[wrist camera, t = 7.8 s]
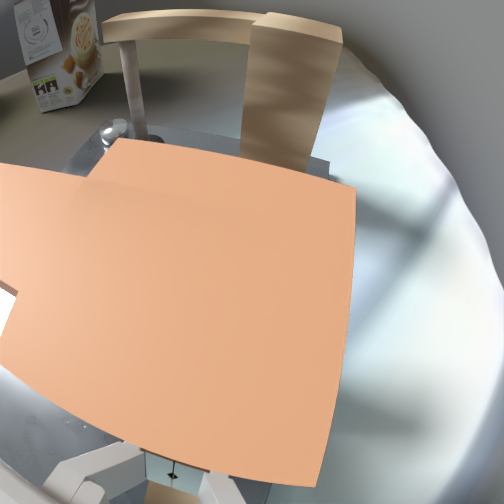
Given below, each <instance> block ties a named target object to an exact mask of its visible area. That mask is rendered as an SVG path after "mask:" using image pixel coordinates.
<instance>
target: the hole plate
mask: <svg viewBox="0 0 504 504" xmlns="http://www.w3.org/2000/svg"><path fill="white" fill-rule="evenodd" d="M147 130H148V136H149V141H150V142H157V143H163V144H170V145H176V146H182V147H188V148H194V149H199V150H205V151H210V152H215V153H220V154H225V155H230V156H235V157H239V150H240V139H235V138H230V137H224V136H219V135H214V134H208V133H202V132H196V131H189V130H183V129H176V128H169V127H161V126H153V125H147ZM118 138H126V139H135V140H136V138H135V133H134V129H133V124H132V123H127V122H126V121H125V120H123V119H114V120H111V121H105V122H104V124H103V125H102V126H101V127H100V128H99V129H98V130H97V131H96V132H95V133H94V134H93V135H92V136H91V137H90V139H89V140H88V141H87V142H86V143H85V144H84V145H83V146H82V148H81V149H80V150H79V151H78V152H77V153H76V155H75V156H74V157H73V158H72V159H71V161H70V162H69V163H68V164H67V166H66V167H65V168H64V169H63V171H62V172H61V173H65V174H71V175H76V176H82V177H87V176H88V175H89V173H90V172H91V171H92V169H93V168H94V167H95V166H96V164H97V163H98V162H99V160H100V159H101V158H102V157H103V155H104V154H105V153H106V152H107V151H108V149H109V148H110V147H111V146H112V145H113V143H114V142H115V141H116V140H117V139H118ZM329 164H330V162H329V161H325V160H322V159H318V158H315V157H311V156H310V158H309V161H308V165H307V168H306V171H305V174H309V175H313V176H316V177H320V178H323V179H327V180H328V176H329ZM14 300H15V297H14V296H12V295H10V294H9V293H7V292H6V291H4V290H3V289H1V288H0V335H1V332H2V330H3V327H4V325H5V322H6V319H7V317H8V314H9V312H10V310H11V307H12V305H13V303H14ZM116 442H122V443H124V440H122V439H120V438H118V437H116V436H113V435H111V434H109V433H107V432H105V431H103V430H101V429H99V428H97V427H95V426H93V425H91V424H89V423H87V422H86V421H84V420H82V419H80V418H78V417H76V416H75V415H73V414H71V413H69V412H68V411H66V410H64V409H63V408H61V407H59V406H58V405H56V404H54V403H53V402H51V401H50V400H48V399H47V398H45V397H44V396H42V395H41V394H39V393H38V392H36V391H35V390H33V389H32V388H30V387H29V386H28V385H26V384H25V383H23V382H22V381H21V380H19V379H18V378H17V377H15V376H14V375H13V374H11V373H10V372H9V371H8V370H6V369H5V368H4V367H3V366H1V365H0V458H1V459H2V460H3V461H4V462H5V463H6V464H8V465H9V466H10V467H11V468H12V469H14V470H15V471H16V472H17V473H18V474H20V475H21V476H22V477H24V478H25V479H26V480H27V481H29V482H30V483H31V484H33V485H34V486H36V487H37V488H38V489H40V488H41V486H42V485H43V484H44V482H45V481H46V480H47V478H48V477H49V476H50V474H51V473H52V472H53V470H54V469H55V468H56V466H57V465H58V464H59V462H61V461H65V460H68V459H71V458H74V457H77V456H80V455H83V454H86V453H89V452H92V451H95V450H98V449H100V448H103V447H106V446H108V445H111V444H114V443H116ZM228 478H230V479H233V480H234V482H235V484H236V486H237V488H238V490H239V491H240V493H241V495H242V497H243V498H244V500H245V502H246V504H265V503H266V500H267V497H268V494H269V490H270V487H271V484H272V483H270V482H263V481H257V480H252V479H246V478H241V477H236V476H232V475H229V477H228ZM148 484H149V480H148V479H146V480H145V481H143V482H142V483H140V484H138V485H136V486H135V487H133V488H131V489H129V490H127V491H126V492H124V493H122V494H120V495H118V496H116V497H114V498H112V499H110V500H108V501H109V504H143V503H144V499H145V495H146V492H147V488H148Z"/></svg>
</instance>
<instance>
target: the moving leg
mask: <svg viewBox="0 0 504 504" xmlns="http://www.w3.org/2000/svg"><path fill="white" fill-rule="evenodd" d="M355 219H356V188H353V187H350V186H347V185H343V184H340V183H337V182H333V181H330V180H327V179H323V178H320V177H316V176H313V175H309V174H305V173H302V172H298V171H294V170H290V169H286V168H282V167H278V166H274V165H270V164H266V163H262V162H257V161H253V160H249V159H244V158H239V157H235V156H230V155H225V154H220V153H215V152H210V151H205V150H199V149H194V148H188V147H182V146H176V145H170V144H163V143H157V142H150V141H142V140H135V139H126V138H118V139H117V140H116V141H115V142H114V143H113V145H112V146H111V147H110V148H109V149H108V151H107V152H106V153H105V154H104V155H103V157H102V158H101V159H100V160H99V162H98V163H97V164H96V166H95V167H94V168H93V169H92V171H91V172H90V173H89V175H88V176H87V177H82V176H76V175H71V174H65V173H60V172H54V171H48V170H42V169H36V168H30V167H23V166H17V165H10V164H4V163H0V288H1V289H3V290H4V291H6V292H7V293H9V294H10V295H12V296H14V297H15V300H14V303H13V305H12V307H11V310H10V312H9V314H8V317H7V319H6V322H5V325H4V327H3V330H2V332H1V335H0V365H1V366H3V367H4V368H5V369H6V370H8V371H9V372H10V373H11V374H13V375H14V376H15V377H17V378H18V379H19V380H21V381H22V382H23V383H25V384H26V385H28V386H29V387H30V388H32V389H33V390H35V391H36V392H38V393H39V394H41V395H42V396H44V397H45V398H47V399H48V400H50V401H51V402H53V403H54V404H56V405H58V406H59V407H61V408H63V409H64V410H66V411H68V412H69V413H71V414H73V415H75V416H76V417H78V418H80V419H82V420H84V421H86V422H87V423H89V424H91V425H93V426H95V427H97V428H99V429H101V430H103V431H105V432H107V433H109V434H111V435H113V436H116V437H118V438H120V439H122V440H124V441H127V442H129V443H131V444H134V445H136V446H139V447H141V448H144V449H146V450H149V451H151V452H154V453H157V454H159V455H162V456H165V457H168V458H171V459H174V460H177V461H180V462H183V463H186V464H189V465H193V466H196V467H200V468H203V469H207V470H211V471H215V472H219V473H223V474H227V475H232V476H236V477H241V478H246V479H252V480H257V481H263V482H270V483H277V484H284V485H293V486H304V487H315V486H316V483H317V479H318V476H319V472H320V469H321V465H322V461H323V457H324V453H325V449H326V445H327V441H328V437H329V433H330V428H331V424H332V419H333V414H334V409H335V404H336V399H337V394H338V388H339V383H340V377H341V371H342V364H343V358H344V351H345V344H346V336H347V328H348V320H349V311H350V301H351V290H352V278H353V264H354V246H355Z"/></svg>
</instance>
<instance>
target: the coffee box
mask: <svg viewBox="0 0 504 504" xmlns="http://www.w3.org/2000/svg"><path fill="white" fill-rule="evenodd" d="M13 6H14V12H15V19H16V24H17V30H18V34H19V39H20V44H21V48H22V52H23V56H24V60H25V64H26V67H27V71H28V75H29V78H30V81H31V85H32V88H33V91H34V94H35V97H36V100H37V103H38V106H39V109H40V112H41V113H42V112H46V111H50V110H54V109H58V108H63V107H67V106H72V105H77V104H79V103H80V102H81V101H82V99H83V98H84V97H85V96H86V94H87V93H88V92H89V90H90V89H91V88H92V87H93V86H94V84H95V83H96V82H97V81H98V80H99V78H100V77H101V76H102V75H103V74H104V69H103V64H102V58H101V52H100V45H99V38H98V31H97V24H96V14H95V4H94V0H22V1H19V2H17V3H15V4H13Z"/></svg>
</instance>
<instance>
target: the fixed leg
mask: <svg viewBox="0 0 504 504" xmlns="http://www.w3.org/2000/svg"><path fill="white" fill-rule="evenodd" d="M102 31H103V39H104V42H114V41H119V46H120V53H121V60H122V67H123V74H124V80H125V86H126V92H127V98H128V103H129V109H130V114H131V119H132V124H133V129H134V133H135V138H136V140H142V141H149V136H148V130H147V124H146V118H145V112H144V106H143V99H142V92H141V85H140V78H139V70H138V61H137V53H136V43H135V40H143V39H193V40H210V41H222V42H232V43H241V44H248V45H249V54H248V64H247V74H246V84H245V94H244V105H243V116H242V127H241V139H240V150H239V158H244V159H249V160H253V161H257V162H262V163H266V164H270V165H274V166H278V167H282V168H286V169H290V170H294V171H298V172H302V173H305V171H306V168H307V165H308V161H309V158H310V155H311V152H312V148H313V145H314V142H315V139H316V135H317V132H318V129H319V125H320V122H321V119H322V115H323V112H324V109H325V105H326V102H327V98H328V95H329V92H330V88H331V85H332V81H333V78H334V74H335V71H336V67H337V63H338V60H339V56H340V53H341V49H342V45H343V40H342V32H341V28H340V27H337V26H333V25H329V24H326V23H322V22H318V21H314V20H309V19H305V18H300V17H294V16H289V15H284V14H278V13H272V12H269V13H267V14H266V15H264V14H257V13H248V12H238V11H224V10H203V9H202V10H201V9H197V10H196V9H188V10H187V9H185V10H184V9H180V10H157V11H145V12H134V13H126V14H120V15H118V16H116V17H113V18H111V19H109V20H107V21H105V22H103V23H102ZM172 485H173V483H172ZM143 504H200V503H199V500H198V498H197V496H196V495H193V494H190V493H187V492H183V491H180V490H177V489H175V488H172V486H171V487H169V486H165V485H162V484H159V483H156V482H153V481H151V480H149V484H148V488H147V492H146V495H145V499H144V503H143Z"/></svg>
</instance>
